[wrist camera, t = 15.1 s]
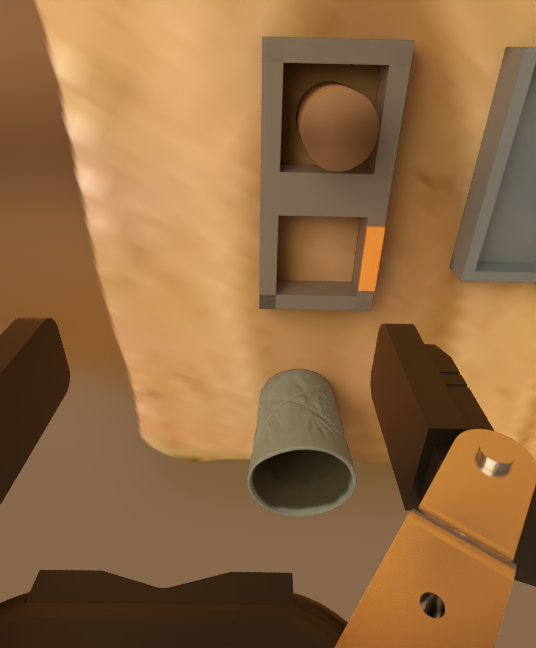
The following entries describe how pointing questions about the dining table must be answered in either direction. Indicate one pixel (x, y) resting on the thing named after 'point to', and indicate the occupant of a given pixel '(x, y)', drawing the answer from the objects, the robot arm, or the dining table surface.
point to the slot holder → (329, 186)
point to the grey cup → (300, 447)
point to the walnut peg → (337, 126)
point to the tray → (503, 183)
